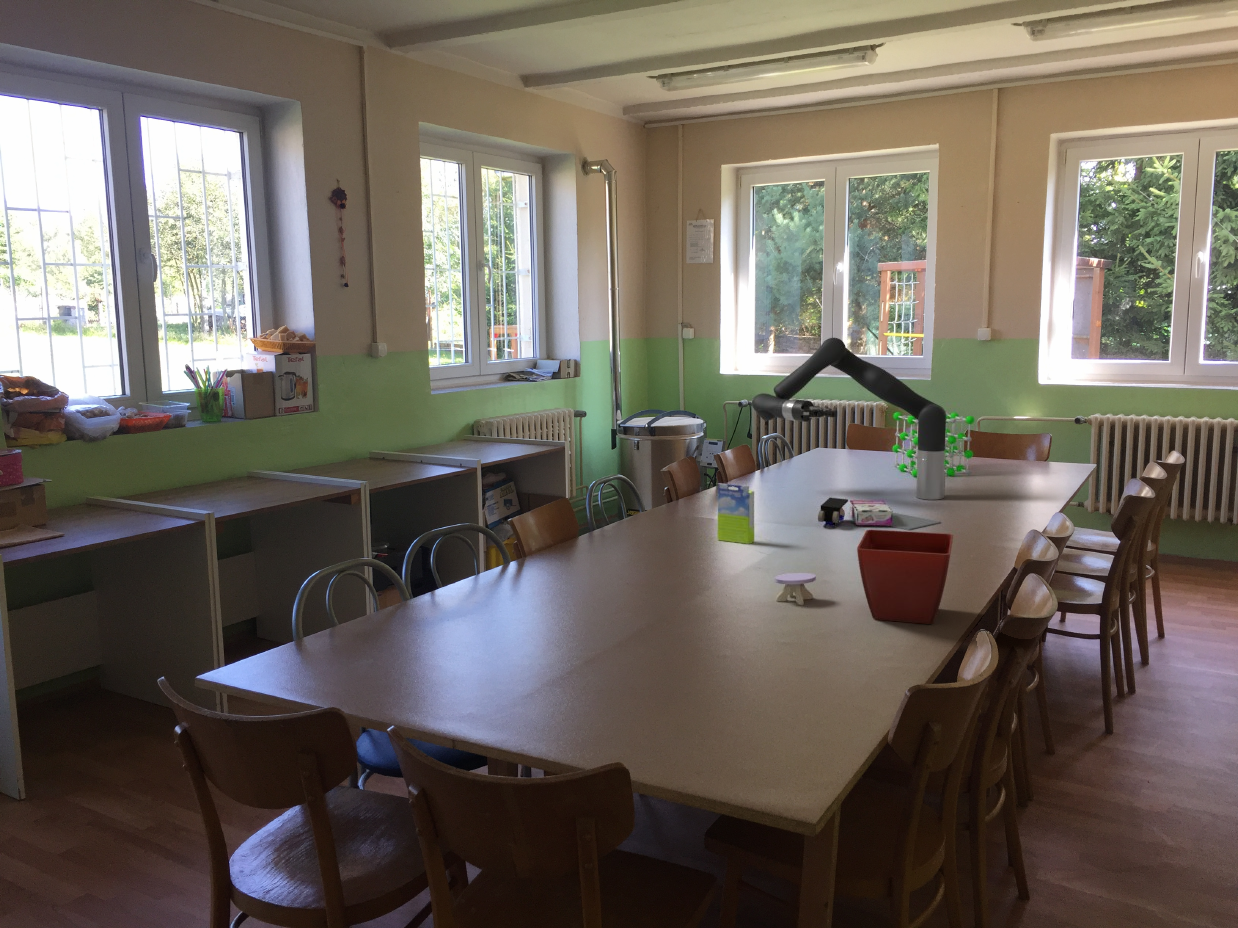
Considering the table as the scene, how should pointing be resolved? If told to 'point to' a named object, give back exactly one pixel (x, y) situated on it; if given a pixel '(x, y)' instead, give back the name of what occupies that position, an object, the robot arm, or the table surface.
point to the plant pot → (904, 573)
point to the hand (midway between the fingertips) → (835, 414)
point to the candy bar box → (870, 512)
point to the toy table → (795, 586)
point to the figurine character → (832, 511)
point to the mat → (910, 522)
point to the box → (735, 514)
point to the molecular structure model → (950, 439)
